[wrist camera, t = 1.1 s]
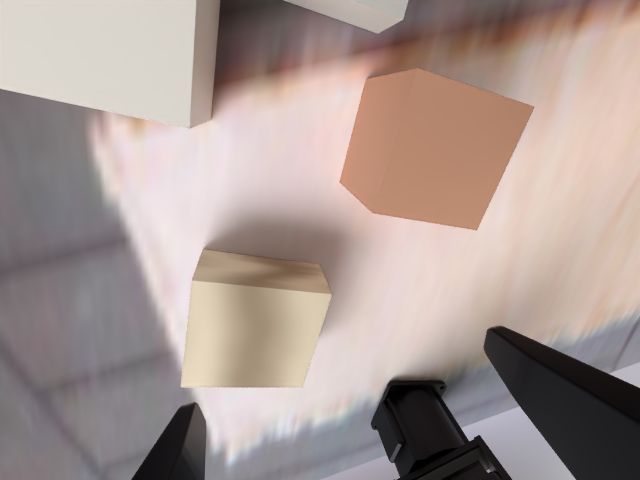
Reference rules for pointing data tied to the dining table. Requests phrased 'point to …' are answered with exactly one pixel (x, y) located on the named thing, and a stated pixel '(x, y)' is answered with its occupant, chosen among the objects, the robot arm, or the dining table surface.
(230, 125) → the dining table surface
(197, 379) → the base block
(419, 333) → the dining table surface
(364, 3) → the plinth
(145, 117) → the offwhite cube
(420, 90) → the terracotta cube
